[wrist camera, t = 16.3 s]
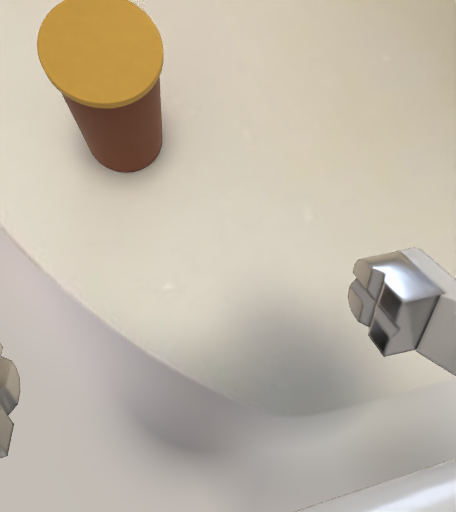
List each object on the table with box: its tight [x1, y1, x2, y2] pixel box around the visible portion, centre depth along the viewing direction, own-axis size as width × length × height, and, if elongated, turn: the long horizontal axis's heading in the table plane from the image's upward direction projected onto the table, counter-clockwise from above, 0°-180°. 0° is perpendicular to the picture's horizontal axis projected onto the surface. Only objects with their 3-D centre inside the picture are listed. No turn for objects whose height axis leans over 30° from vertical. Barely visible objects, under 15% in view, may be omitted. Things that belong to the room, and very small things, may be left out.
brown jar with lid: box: [37, 0, 163, 172], centre depth 19 cm, size 5×5×8 cm
